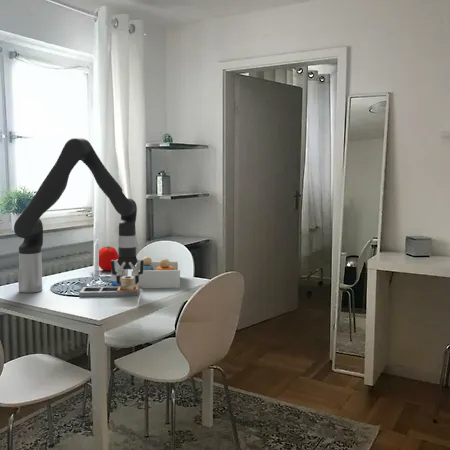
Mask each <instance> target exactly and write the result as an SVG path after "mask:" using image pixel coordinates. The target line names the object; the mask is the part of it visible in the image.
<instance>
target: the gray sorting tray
mask: <svg viewBox="0 0 450 450" xmlns="http://www.w3.org/2000/svg"><path fill="white" fill-rule="evenodd" d="M78 295H79V298H111V297H112V298H116V297H117V298H118V297H121V298H122V297H138V296H139V295H140V286H134V290H122V288H121V285H111V286H83V287H82V289H81V290H80V291H79V294H78Z"/></svg>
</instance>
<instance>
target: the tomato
mask: <svg viewBox="0 0 450 450" xmlns="http://www.w3.org/2000/svg"><path fill="white" fill-rule="evenodd" d="M98 251H99V265H98V266H99V268H100V269H101V270H102V271H112V269H111V261H112V260H117V259H118V250H116V248H114V247H112V246H109V245H107V246H102V248H100V249H99V250H98Z"/></svg>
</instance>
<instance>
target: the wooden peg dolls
mask: <svg viewBox="0 0 450 450" xmlns="http://www.w3.org/2000/svg"><path fill="white" fill-rule="evenodd" d="M141 260H144V266H143V271H145V270H154V269H153V266H152V265H150V264H151V263H152V262H153V261H152V258H151V257H150V256H144V257H143V258H142V259H141ZM169 261H170V260H169V259H168V258H162V259H161V260H159V262H160V266H159V267H157V269H156V270H173V268H172V267H171V266H169V265H170V262H169Z"/></svg>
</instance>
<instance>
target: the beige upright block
mask: <svg viewBox="0 0 450 450" xmlns="http://www.w3.org/2000/svg"><path fill="white" fill-rule="evenodd" d="M120 286H121V288H122V290H134V276H132V275H128V276H122V279H121V285H120Z"/></svg>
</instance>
